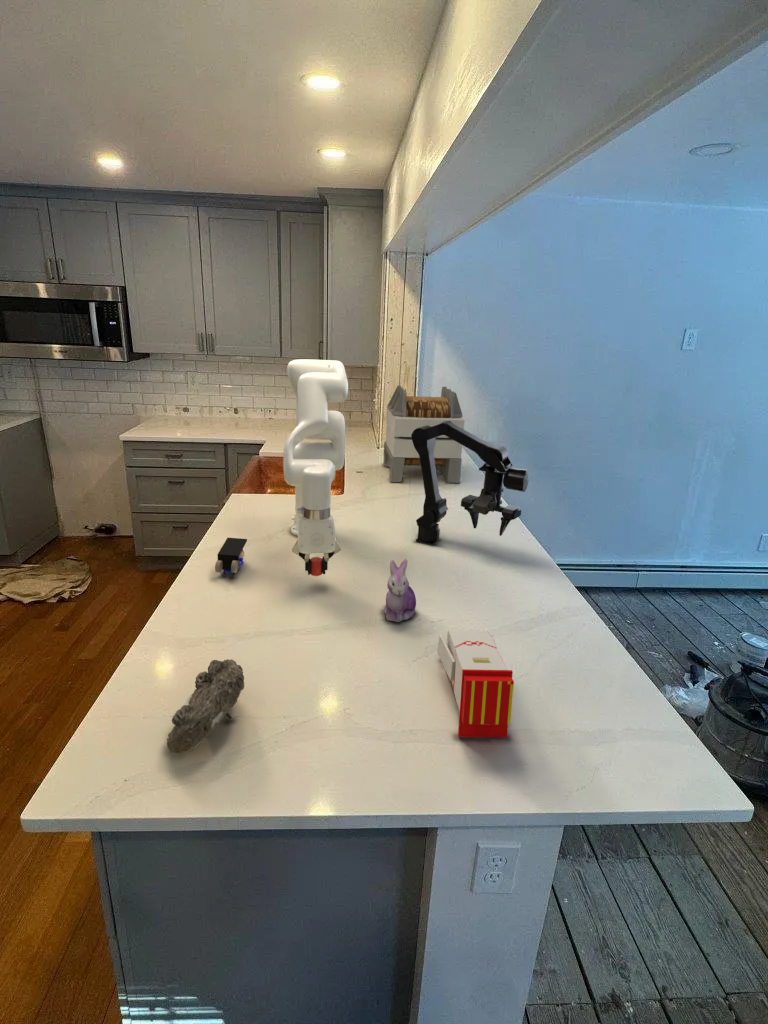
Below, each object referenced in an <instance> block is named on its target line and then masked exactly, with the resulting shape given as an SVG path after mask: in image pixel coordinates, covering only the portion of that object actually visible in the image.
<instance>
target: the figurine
mask: <svg viewBox="0 0 768 1024" xmlns="http://www.w3.org/2000/svg"><path fill="white" fill-rule="evenodd" d="M407 567H408V559H406V558H404V559H403V560H402V561H401V563H400V565H399V566H398V565H397V563H396V562H395V561H394V560H393V559H391V560H390V561H389V570H390V576H389V578H388V579H387V589H388V591H387V592H386V594H385V595H386V596H385V607H384V615H385V616H386V620H387V621H391V622H395V623H400V622H402V621H406V620H409V619H410V618H411V617H413V616H414V615H415V610H416V606H417V597H416V593H415V591H414V590H413V587H411V586H410V582H409V579H408V577H407V574H406V571H407Z"/></svg>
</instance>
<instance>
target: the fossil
mask: <svg viewBox="0 0 768 1024" xmlns="http://www.w3.org/2000/svg"><path fill="white" fill-rule="evenodd" d="M243 670H244V669H243V667H242V665H240V664H237V662H236V661H235V660H234V659H232V658H231V659H227V658H226V659H224V660H223V661H222V660H217V659H212V660H211V661H210V663H209V665H208V666H207V671H201V672H199V673H198V674H197V675H196V676H195V680H194V684H195V685H194V687H195V689H194V690H193V693H192V694H191V697H190V698H189V700H188V704H184V705H182V706H181V707H180V709H177V710H176V711H175V713H174V715H173V716H172V718H171V723H172V724H173V727H172V730H171V731H170V732H168V734H167V738H166V741H167V742H166V745H167V749H168V750H169V751H173V752H174V753H176V754H178V753H182V752H188V751H189V752H192V751H193V750H195V748H196V747H197V746H199V744H200V743H201V742H203V741H204V740H205V739H206V738H207V737H208V736H209V735H210V734H211V733H212V732H214V730H215V729H217V727H218V726H219V724H220V722H221V721H222V720H223V719H224V718H225V716H226V717H227V719H229V720H233V717H232V715H230V714H229V710H230V709H231V708H234V706H235V704H236V703H237V702H238V699H239V697H240V695H241V693H242V691H243V690H245V689H244V688H245V675H244V671H243Z"/></svg>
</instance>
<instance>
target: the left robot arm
mask: <svg viewBox="0 0 768 1024" xmlns="http://www.w3.org/2000/svg"><path fill="white" fill-rule="evenodd" d="M286 367H287V368H286V371H287V373H286V374H287V377H288V380H289V383H290V385H291V387H292V390H293V393H294V396H295V420H296V421H295V428H294V429H293V430H292V431H291V433H289V435H288V436H287V439H286V441H285V443H284V447H283V454H282V455H283V456H282V457H283V458H282V461H283V462H282V463H283V464H282V465H283V467H282V468H283V479H284V482H285V483H286V485H288V486H291V487H294V499H295V501H294V502H295V504H294V505H295V507H294V508H295V512H294V513H295V514H294V515H292V516H291V520H292V521H293V522H294V524H293V525H292V526H291V528H290V532H291V534H292V535H295V536H297V540H296V542H295V543H294V545H293V546H292V548H291V553H293V554H295V555H297V556H298V557H300V558H301V559H302V560H303V561H304V569H305V570H304V571H305V572H307V575H308V576H311V562H310V559H311V558H310V555H311V554H323V556H322V557H321V558H322V575H326V571H328V568H329V567H328V564H329V563H328V562H329V560H330V559H331V558H332V557H334V555H336V554H337V553H340V552H341V549H342V548H341V546H340V545H339V543H338V541H337V540H336V527H335V520H334V516H333V515H332V513H331V504H332V503H331V502H332V501H331V497H332V495H331V494H332V491H331V490H332V484H333V481H334V480H335V479H336V471H340V470H342V469H343V467H344V465H345V462H346V461H345V459H346V419H345V417H344V413H342V412H340V411H339V410H333V409H332V410H330V409H329V407H328V403H344V402H345V401H346V400H347V398H348V394H349V381H348V375H347V372H346V368H345V366H344V364H343V362H342V361H340V360H335V359H314V358H313V359H312V358H310V359H309V358H298V359H293V360H291V361H289V362H288V364H287V366H286ZM303 440H325V442H324V441H322V442H321V441H304V442H302V441H303ZM327 440H329V442H327Z"/></svg>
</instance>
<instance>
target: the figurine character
mask: <svg viewBox="0 0 768 1024" xmlns="http://www.w3.org/2000/svg"><path fill="white" fill-rule="evenodd" d="M247 542H248V538H240V537H226V539H225V541H224V543H223V544H222V546H221V547H220V549H219V551H218V552H217V560H216V562H215V564H214V572H215V573H221V577H222V578H224V577H225V576H226V574H227V573H230V574H231V573H232V574H231V578H234V577H235V575H236V573H237V572H239V571H240V567H242V566H243V565H244V564H245V562H244V558H245V551H244V547H245V546H246V544H247Z"/></svg>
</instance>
